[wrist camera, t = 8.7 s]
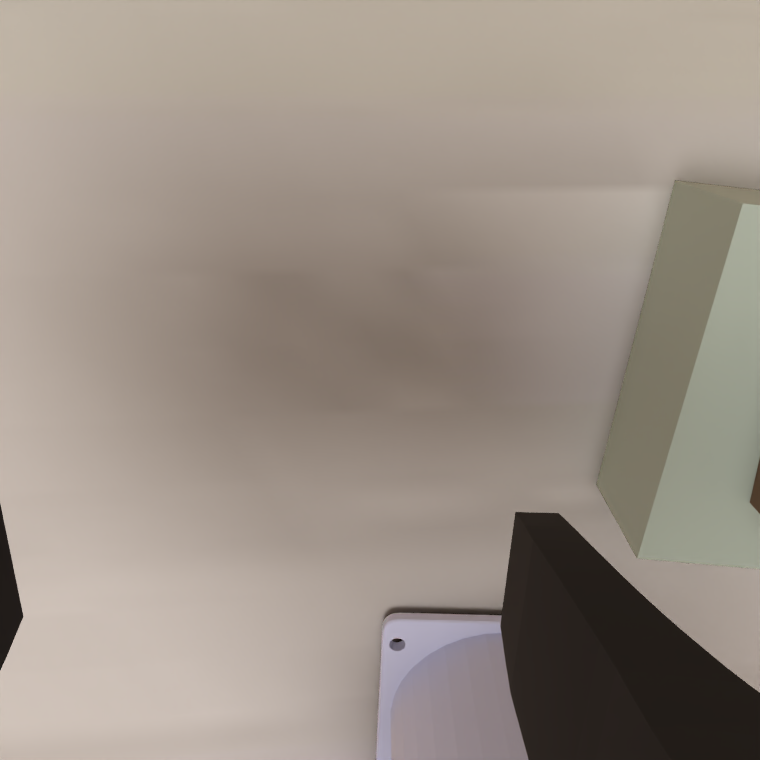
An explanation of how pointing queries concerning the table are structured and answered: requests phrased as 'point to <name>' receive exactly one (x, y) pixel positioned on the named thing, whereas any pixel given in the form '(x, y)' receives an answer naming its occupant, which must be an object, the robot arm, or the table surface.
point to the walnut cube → (756, 491)
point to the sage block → (693, 389)
